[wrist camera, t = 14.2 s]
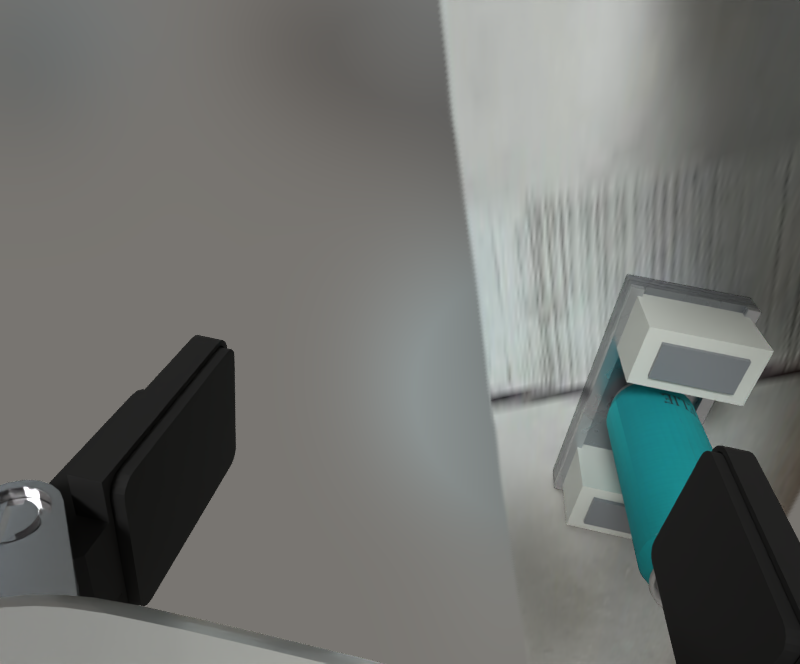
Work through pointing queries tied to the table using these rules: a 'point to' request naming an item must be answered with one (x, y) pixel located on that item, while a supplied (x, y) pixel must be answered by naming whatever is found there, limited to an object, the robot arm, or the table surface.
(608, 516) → the block
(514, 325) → the table surface
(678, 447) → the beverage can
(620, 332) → the rail
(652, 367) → the module
